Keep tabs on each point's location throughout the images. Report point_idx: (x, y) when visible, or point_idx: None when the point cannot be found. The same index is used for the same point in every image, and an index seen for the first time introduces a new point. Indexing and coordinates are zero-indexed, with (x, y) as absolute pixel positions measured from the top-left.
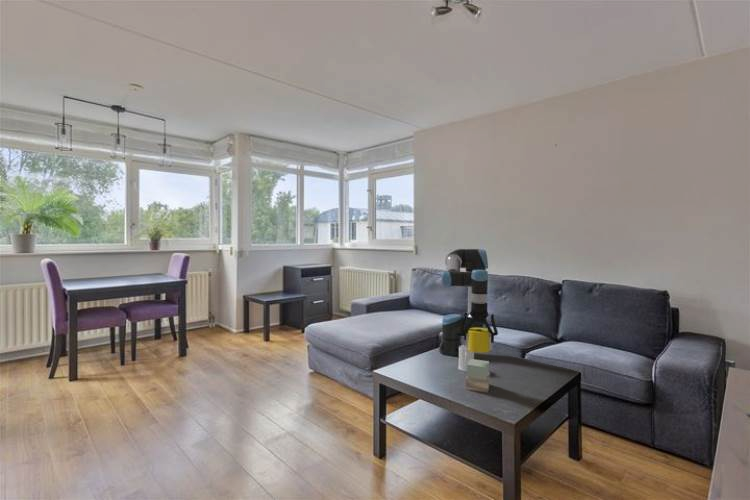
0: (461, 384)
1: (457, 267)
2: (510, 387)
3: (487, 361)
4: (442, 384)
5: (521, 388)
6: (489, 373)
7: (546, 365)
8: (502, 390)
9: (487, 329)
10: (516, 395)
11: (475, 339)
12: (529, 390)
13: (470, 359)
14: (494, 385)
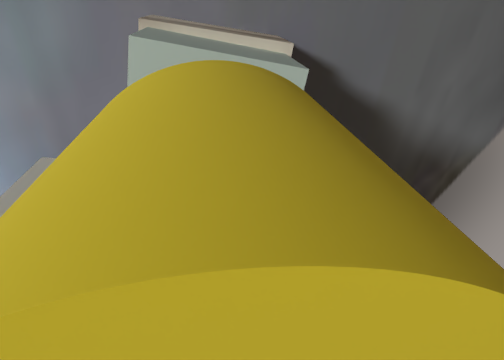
0: (113, 79)
1: None
2: (385, 50)
3: (294, 74)
4: (3, 109)
5: (438, 49)
6: (289, 53)
7: None
8: (333, 102)
9: None
10: (384, 142)
11: None
12: (468, 66)
13: (133, 57)
14: (303, 43)
